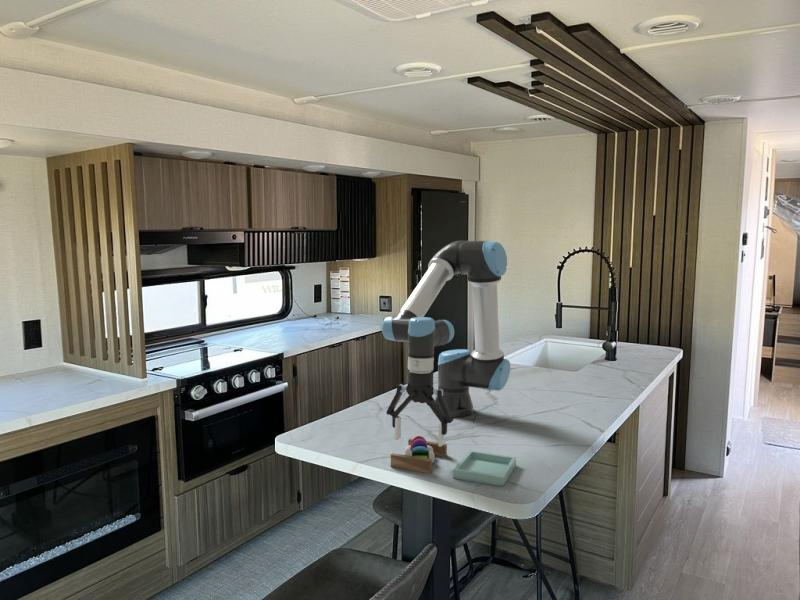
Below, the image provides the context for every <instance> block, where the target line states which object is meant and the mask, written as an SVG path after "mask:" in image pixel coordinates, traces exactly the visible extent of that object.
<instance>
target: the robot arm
mask: <svg viewBox="0 0 800 600" xmlns="http://www.w3.org/2000/svg"><path fill="white" fill-rule="evenodd" d="M506 253H507V252H506V249H505V247H504V246H503V245H502V244H501V243H500V242H499V241H491V240H456V241H452V242H450V243H448V244H447V245H445V246H443V247H442V248H441V249H440V250H438V251H437V252H436V253H435V254H434V255H433V256H432V258H431V259H430V261H429V262H428V265H427V270H426V271H425V273H424V274H423V276H422V278H421V279H420V281H419V282H418V283H417V285H416V287H415V288H414V289H413V290H412V292H411V293H410V296H408V298H407V299H406V301H405V302H404V304H403V306H402V307H401V309H399V311H398V313H397V314H396V315H395V316H394V315H392V316H387V317H385V318H384V319H383V322H382V325H381V333H382V335H383V338H384V339H385V340H389V341H393V342H402V343H403V342H404V343H408V344H407V345H408V347H407V349H408V352H407V369H408V371H407V385H404V383H400V384H398V385H397V387H396V391H395V394H394V396H393V399H391V402H390V404H389V405H388V408H387V410H386V415H388V416H390V417H392V422H391V423H392V424H391V425H392V428H394V440H395V441H396V440H397V441H398V440H399V439H401V436H402V435H401V434H402V433H401V432H402V416H401V415H400V414H401V413H402V412H403V410H404V409H405V408H407V406H408V405H409V404H410V403H411V402H413V403H419V404H426V406H428V407H429V408H430V409H431V411H432V413H434V415H435V416H436V418H437V419H438V421H439V424H438V435H437V437H438V441H437V443H438V446H439V447H441V446H442V445H443V444H445V443H444V442H445V441H444V440H445V435H447V433H448V424H452V423H453V421H454V420H455V418H460V417H467V416H470V415H472V414H473V413H474V404H473V401H472V398H471V394H470V388H475V389H482V390H487V391H501V390H503V389H504V388H505V386H506V385H507V383H508V381H509V378H510V372H511V362H510V360H509V359H507V358H504V356H505V355H504V354H505V352H504V351H503V350H502V349H501V348H500V335H499V333H500V330H499V306H498V305H499V304H498V303H499V301H498V300H499V299H498V283H500V281H501V280H502V276H504V275H505V274H506V272H507V269H508V268H507V266H508V258H507V257H508V256H507V254H506ZM459 274H461V275H466V276H467V282H468V283H469V284H471V289H472V307H473V308H472V309H473V332H474V333H473V335H474V350H472V351H470V350H469V349H465V348H463V349H460V348H458V349H449V350H446V351H442V352H441V353H439V355H438V361H437V366H438V367H437V389H436V388H435V389H434V372H433V371H434V368H435V367H434V366H435V365H434V362H435V359H434V358H435V355H434V354H435V348H437V347H439V346H445V345H446V344H449V343H451V341H452V340H453V338H454V336H455V329H454V328H455V327H454V325H453V324H452V322H450V321H449V320H446V319H438V320H435V319H434V318H432V317H427V316H425V315H426V314H427V312H428V311H429V309H430V308H431V306H432V304H433V303H434V301H435V300H436V298H437V297H438V295H439V293H440V291H441V290H442V289H443V287H444V286H445V285H446V282H447V281H450V280H452V278H453V277H454V275H459ZM405 391H406V393H407V394H408V396H407V397H406V398H405V400H404V401H403V402H402V403H401V404H400V405H399V406H398V407H397V405H398V403H399V402H400V399H401V397H402V395H403V394H404V393H405ZM433 395H435V398H434V397H433ZM396 407H397V408H396ZM395 409H396V410H395Z"/></svg>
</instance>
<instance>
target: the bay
mask: <svg viewBox="0 0 800 600" xmlns="http://www.w3.org/2000/svg"><path fill="white" fill-rule="evenodd" d="M413 439H414V438H408V440H407V441H408V442H407V443H408V445H407V446H409V445H412V444H411V442H412V440H413ZM426 442H427V445H429V446H431V447H432V448H433V453H434V454H435V457H436V456H438V457H444V458H446V457H447V456H448V455H447V454H448V452H447V451H448V444H447V443H444V444H443V445H442V446H441V447H439V446H438V441H437V442H436V441H431V440H430V441H429V440H426ZM432 465H433V463H432V459H426V458H420V457H414V456H407V455H405V454H400V453H394V452H392V453H391V454H390V467H391V468H392V467H393V468H397V469H404V470H409V471H415V472H421V473H424V474H425V473H426V474H431V473H432V472H433V471H432V467H433V466H432Z"/></svg>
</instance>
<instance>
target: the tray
mask: <svg viewBox="0 0 800 600" xmlns="http://www.w3.org/2000/svg"><path fill="white" fill-rule="evenodd" d="M516 466H517V457H516V456H511V455H510V456H509V455H504V454H498V453H490V452H483V451H477V450H472V449H471V450H469V451H467V452H466V454H465V455H464V456H463V457H462V459H461V460H460V461H459V462H458V463H457V464H456V466H455V467H454V468H453V469H452V470H453V471H452V478H453V479H455V480H462V481H468V482H473V483H479V484H484V485H490V486H496V487H501V488H503V487H504V486H505V484H506V483H507V481H508V480H509V478H510V476H511V475H512V473H513V471H514V469H515V468H516Z"/></svg>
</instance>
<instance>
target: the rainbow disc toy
mask: <svg viewBox="0 0 800 600" xmlns="http://www.w3.org/2000/svg"><path fill="white" fill-rule="evenodd" d="M412 439H413V440H412V442H411V444H412V445H409V446H408V445H407V446H405V448H404V455H407V456H414V457H420V458H426V459H432V464H433V463H434V462H435V461H436V459H435V458H436V455H435V454H434V453H433V448H432V447H431V446H429V445H427V442H426V441H427V439H426V438H425V437H423V436H421V435H418V436H414V437H413V438H412Z"/></svg>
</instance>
